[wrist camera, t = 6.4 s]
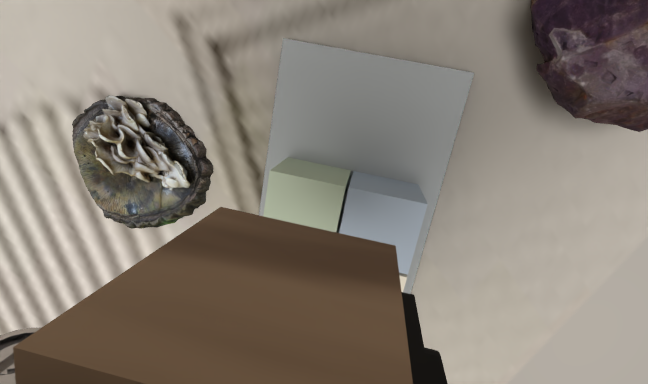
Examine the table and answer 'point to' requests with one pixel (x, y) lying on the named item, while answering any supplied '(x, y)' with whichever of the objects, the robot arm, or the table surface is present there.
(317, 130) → the assembly board
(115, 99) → the grey oval shell
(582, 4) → the rock
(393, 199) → the blue block
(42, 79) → the table surface
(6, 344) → the robot arm
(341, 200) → the sage block
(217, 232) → the walnut block
